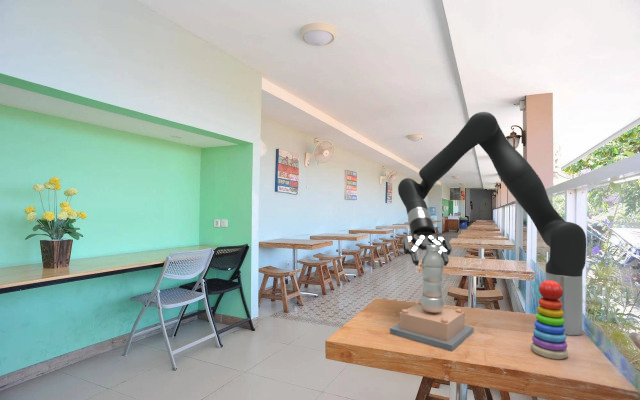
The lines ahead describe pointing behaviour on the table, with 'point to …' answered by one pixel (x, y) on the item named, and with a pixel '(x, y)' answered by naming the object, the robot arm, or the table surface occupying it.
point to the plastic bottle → (432, 280)
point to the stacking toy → (550, 323)
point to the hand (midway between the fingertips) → (431, 264)
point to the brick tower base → (434, 340)
